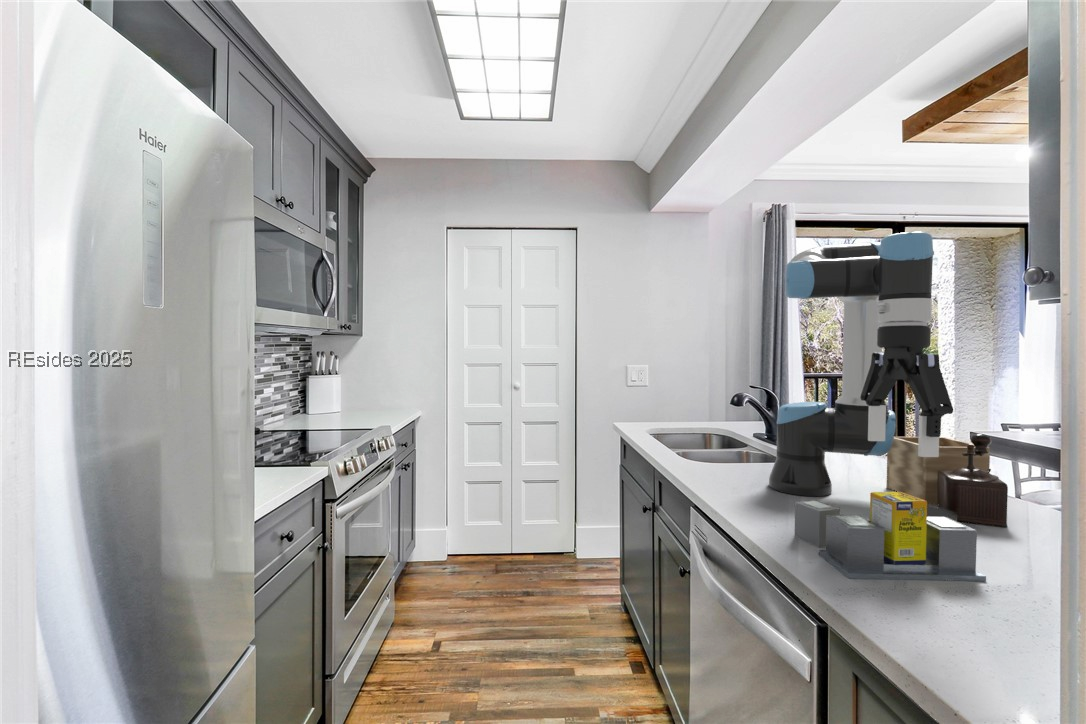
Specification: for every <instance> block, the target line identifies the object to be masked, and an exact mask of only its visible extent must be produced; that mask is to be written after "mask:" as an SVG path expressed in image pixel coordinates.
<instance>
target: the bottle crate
mask: <svg viewBox="0 0 1086 724" xmlns="http://www.w3.org/2000/svg"><path fill="white" fill-rule="evenodd" d="M918 439H919V436H894V439H893V443H892V446H891V448H890V450H889V451H888V452H887V453H886V461H887V462H886V487H888V488H887V489H889V488H890V489H889V490H891V489H893V490H895V491H894V492H896V491H898V492H903V493H905V494H908V495H911V496H914V497H917V498H919V499H922V500H925V501H927V505H938V497H937V481H938V470H940V471H954V470H956V469H959V468H962V467H967V466H968V456H963V455H962V453H965V452H967V450H968V449H967V446H968V445H969V444H972V445H974V444H973V443H972V442H966V441H963V440H958V439H953V438H948V437H945V436H940V437H939V457H920V456H918ZM974 449H975V446H974ZM987 450H988V452H989V454H984V455H982V456H979V455H976V456H973V464H974V467H977V468H979V469H982V470H984V471H988V470H989V469H990V462H991V461H990V459H991V458H990V457H991V448H990V447H989V446H988V447H987ZM893 490H892V491H893Z"/></svg>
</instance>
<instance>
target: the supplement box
mask: <svg viewBox="0 0 1086 724" xmlns="http://www.w3.org/2000/svg"><path fill="white" fill-rule="evenodd" d="M869 493H870V494H869V495H870V497H869V498H870V500H869V501H870V502H869V503H870V506H869V510H870V511H869V521H871V522H873V523H875V524H877V525H878V526H880V527H882V528H884V529H885V531H884V560H886V561H888V562H889V563H891V564H893V565H918V564H926V526H927V507H928V504H927V501H925V500H922V499H919V498H917V497H914V496H911V495H908V494H905V493H903V492H896V491H871V492H869Z"/></svg>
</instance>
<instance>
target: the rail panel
mask: <svg viewBox="0 0 1086 724" xmlns="http://www.w3.org/2000/svg"><path fill="white" fill-rule="evenodd" d="M884 531H885V529H884V528H882V527H880V526H878V525H877V524H875V523H873V522H871V521H870V519H868V518H866V517H864V516H862V515H855V514H840V515H826V547H825V549H818V555H819V556H820V557H822V559H824V560H825V561H826V562H828V563H829V564H830V565H831V566H833V567H834V568H835V569H836V570H837V571H839V572H840V573H841V574H843V576H845V577H846V578H847V579H857V580H858V579H865V580H866V579H867V580H868V579H869V580H870V579H871V580H909V581H910V580H913V581H914V580H915V581H918V580H920V581H923V580H924V581H926V580H927V581H961V582H962V581H964V582H965V581H966V582H973V581H975V582H987V576H986V575H985V574H983V573H981V572H979V571H978V570H977V566H976V565H977V544H978V542H977V540H978V539H977V537H978V536H977V535H978V531H977V529H976V528H972V527H970V526H968V525H966V524H963V523H962V522H956V521H954V520H952V519H950V518H947V517H934V516H927V526H926V564H918V565H893V564H891V563H889V562H888V561H886V560H884Z"/></svg>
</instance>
